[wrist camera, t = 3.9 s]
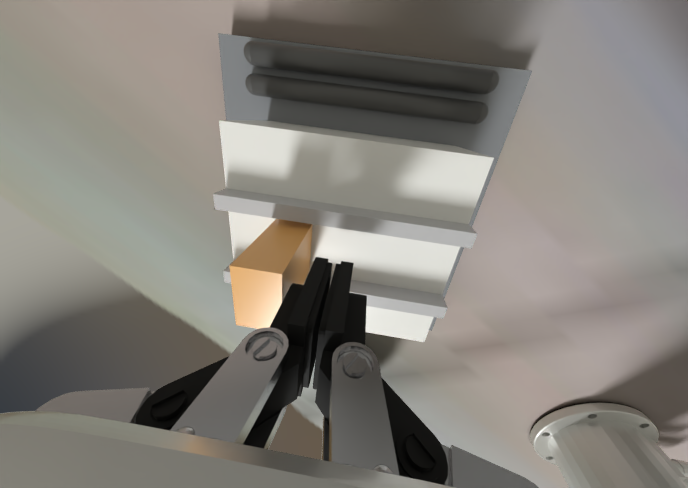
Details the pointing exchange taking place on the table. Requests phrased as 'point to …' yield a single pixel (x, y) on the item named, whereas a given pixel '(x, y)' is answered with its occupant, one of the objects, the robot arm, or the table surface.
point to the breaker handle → (269, 271)
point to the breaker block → (364, 163)
